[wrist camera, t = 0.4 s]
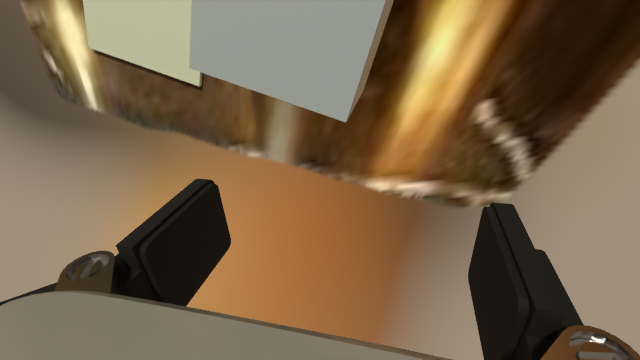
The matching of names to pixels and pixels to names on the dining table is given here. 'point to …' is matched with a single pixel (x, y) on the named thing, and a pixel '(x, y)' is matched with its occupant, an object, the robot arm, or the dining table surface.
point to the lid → (287, 48)
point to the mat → (144, 34)
